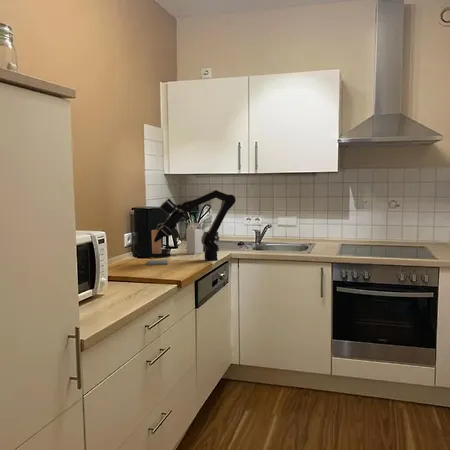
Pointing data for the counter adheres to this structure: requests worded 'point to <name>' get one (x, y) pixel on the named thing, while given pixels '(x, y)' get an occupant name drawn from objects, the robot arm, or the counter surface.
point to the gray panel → (157, 262)
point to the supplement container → (214, 242)
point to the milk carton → (194, 239)
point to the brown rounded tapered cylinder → (156, 243)
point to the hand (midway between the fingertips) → (153, 241)
